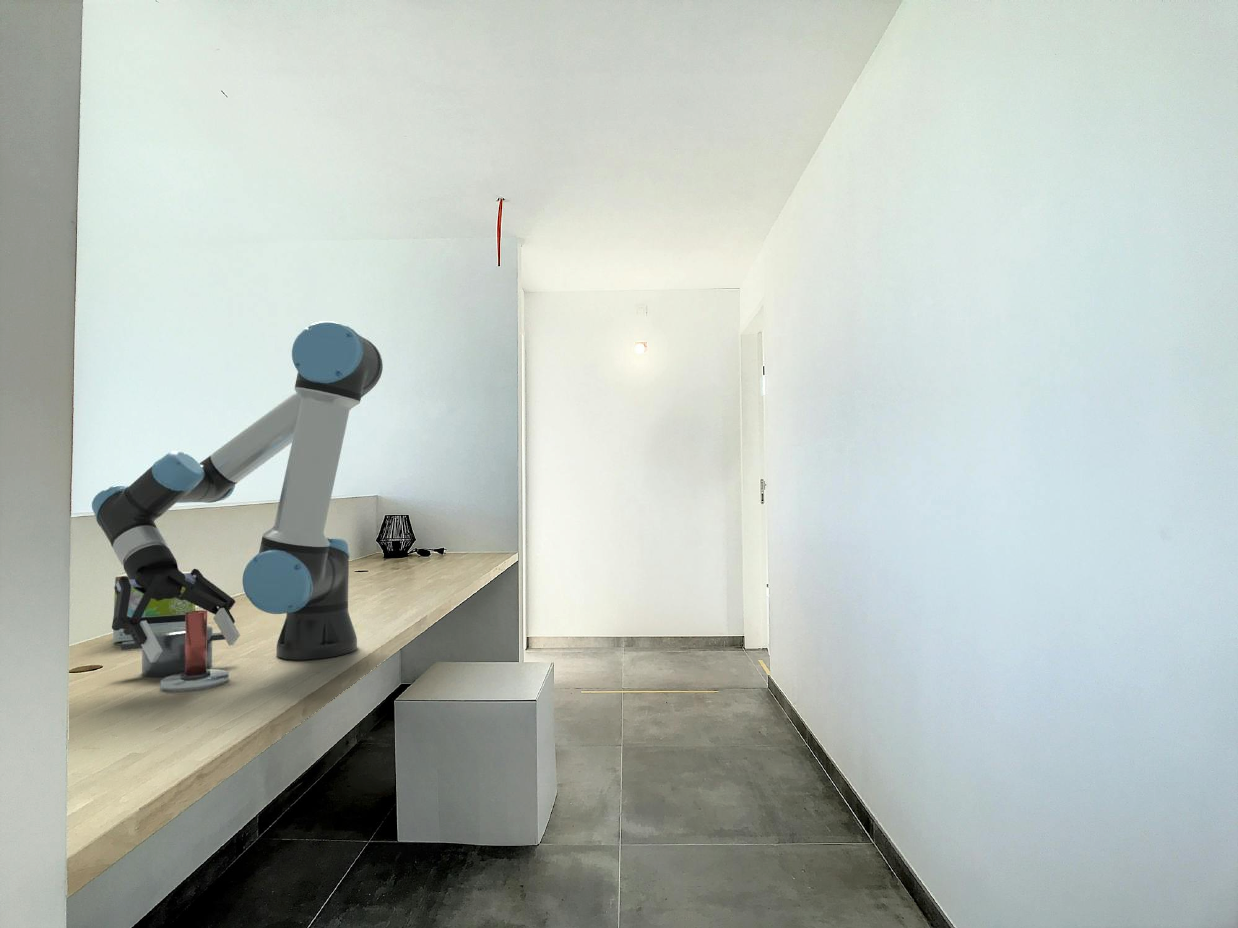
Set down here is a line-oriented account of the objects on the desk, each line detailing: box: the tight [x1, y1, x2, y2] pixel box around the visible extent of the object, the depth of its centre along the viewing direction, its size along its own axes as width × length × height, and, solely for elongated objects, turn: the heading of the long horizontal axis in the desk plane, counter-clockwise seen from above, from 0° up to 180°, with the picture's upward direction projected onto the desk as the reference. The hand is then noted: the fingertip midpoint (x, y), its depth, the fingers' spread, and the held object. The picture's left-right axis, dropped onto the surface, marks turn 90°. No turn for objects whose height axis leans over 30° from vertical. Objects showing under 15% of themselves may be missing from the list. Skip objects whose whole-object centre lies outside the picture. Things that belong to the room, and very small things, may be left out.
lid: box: [160, 610, 230, 693], centre depth 120 cm, size 10×10×12 cm
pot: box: [120, 625, 226, 678], centre depth 130 cm, size 17×11×7 cm, turn 121°
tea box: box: [112, 569, 196, 644], centre depth 161 cm, size 15×10×15 cm, turn 117°
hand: (197, 648), depth 119 cm, fingers open, 13 cm apart
